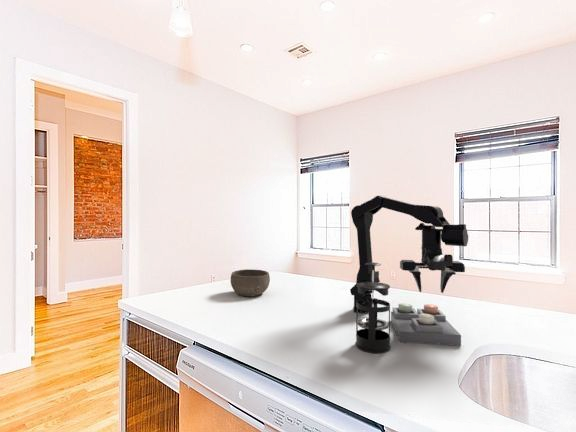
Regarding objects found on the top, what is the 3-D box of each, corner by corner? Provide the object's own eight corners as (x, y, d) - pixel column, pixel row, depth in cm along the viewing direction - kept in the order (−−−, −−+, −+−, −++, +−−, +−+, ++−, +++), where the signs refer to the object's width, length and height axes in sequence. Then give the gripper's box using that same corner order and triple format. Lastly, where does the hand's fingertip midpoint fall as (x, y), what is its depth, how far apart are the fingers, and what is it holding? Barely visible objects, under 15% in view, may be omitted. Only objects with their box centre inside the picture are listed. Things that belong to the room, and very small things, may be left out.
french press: (390, 356, 83) (390, 266, 83) (353, 351, 86) (353, 264, 86) (390, 339, 94) (391, 260, 94) (357, 335, 97) (358, 259, 97)
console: (400, 341, 93) (400, 326, 93) (391, 320, 111) (391, 307, 111) (460, 345, 90) (460, 329, 90) (440, 323, 109) (440, 309, 109)
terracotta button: (425, 313, 104) (425, 307, 104) (422, 309, 108) (422, 304, 108) (439, 313, 103) (439, 308, 103) (435, 310, 107) (435, 304, 107)
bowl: (268, 299, 139) (268, 275, 139) (226, 298, 139) (226, 275, 139) (270, 289, 156) (270, 269, 156) (234, 289, 156) (234, 268, 156)
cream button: (420, 323, 94) (420, 317, 94) (417, 319, 98) (417, 313, 98) (435, 324, 93) (435, 318, 93) (432, 320, 97) (432, 314, 97)
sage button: (399, 311, 105) (399, 306, 105) (397, 308, 110) (397, 302, 110) (413, 312, 105) (413, 306, 105) (410, 308, 109) (410, 303, 109)
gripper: (406, 246, 99) (405, 297, 99) (471, 247, 96) (471, 300, 96) (399, 243, 110) (399, 288, 110) (458, 244, 107) (458, 291, 107)
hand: (431, 292), depth 106 cm, fingers open, 6 cm apart
